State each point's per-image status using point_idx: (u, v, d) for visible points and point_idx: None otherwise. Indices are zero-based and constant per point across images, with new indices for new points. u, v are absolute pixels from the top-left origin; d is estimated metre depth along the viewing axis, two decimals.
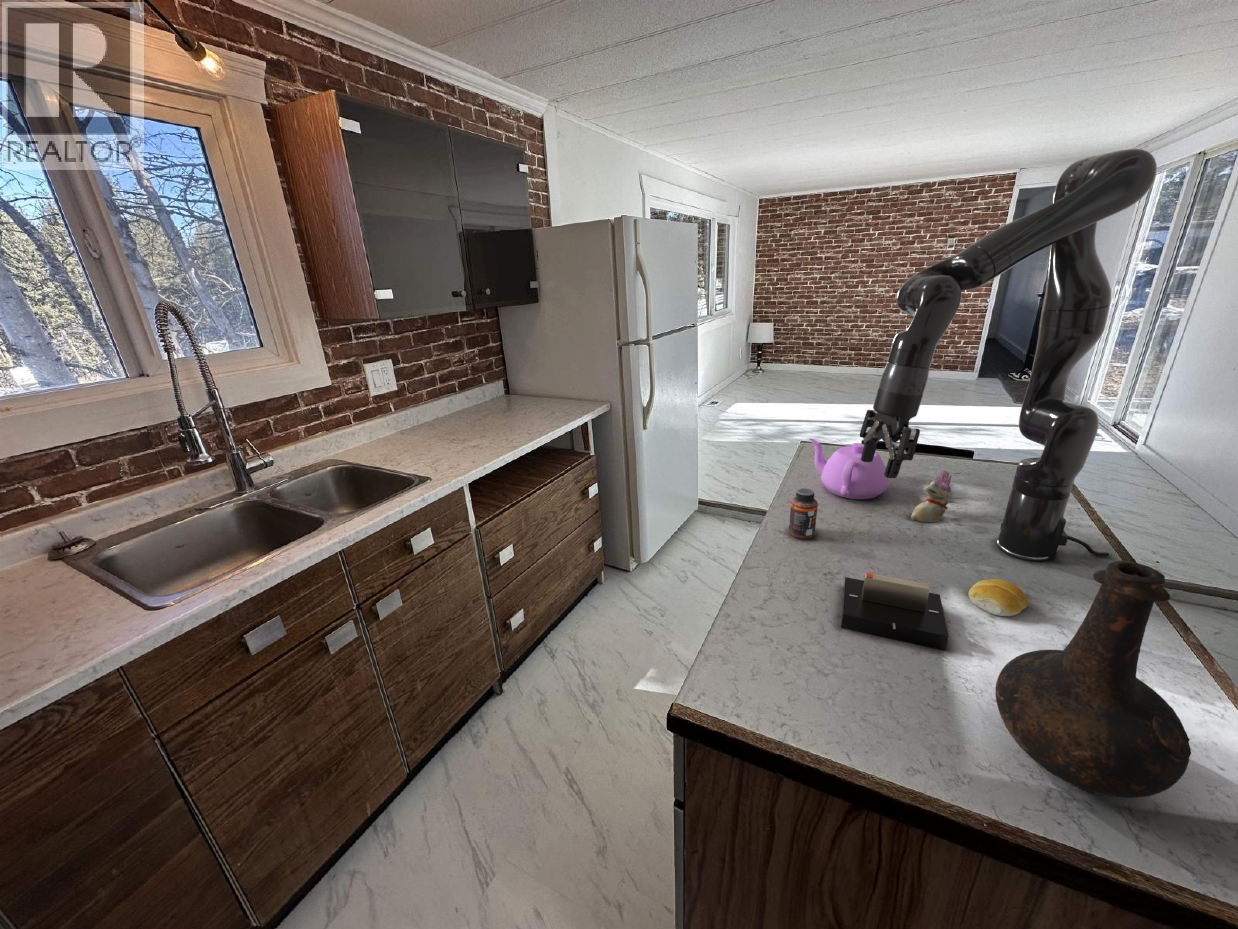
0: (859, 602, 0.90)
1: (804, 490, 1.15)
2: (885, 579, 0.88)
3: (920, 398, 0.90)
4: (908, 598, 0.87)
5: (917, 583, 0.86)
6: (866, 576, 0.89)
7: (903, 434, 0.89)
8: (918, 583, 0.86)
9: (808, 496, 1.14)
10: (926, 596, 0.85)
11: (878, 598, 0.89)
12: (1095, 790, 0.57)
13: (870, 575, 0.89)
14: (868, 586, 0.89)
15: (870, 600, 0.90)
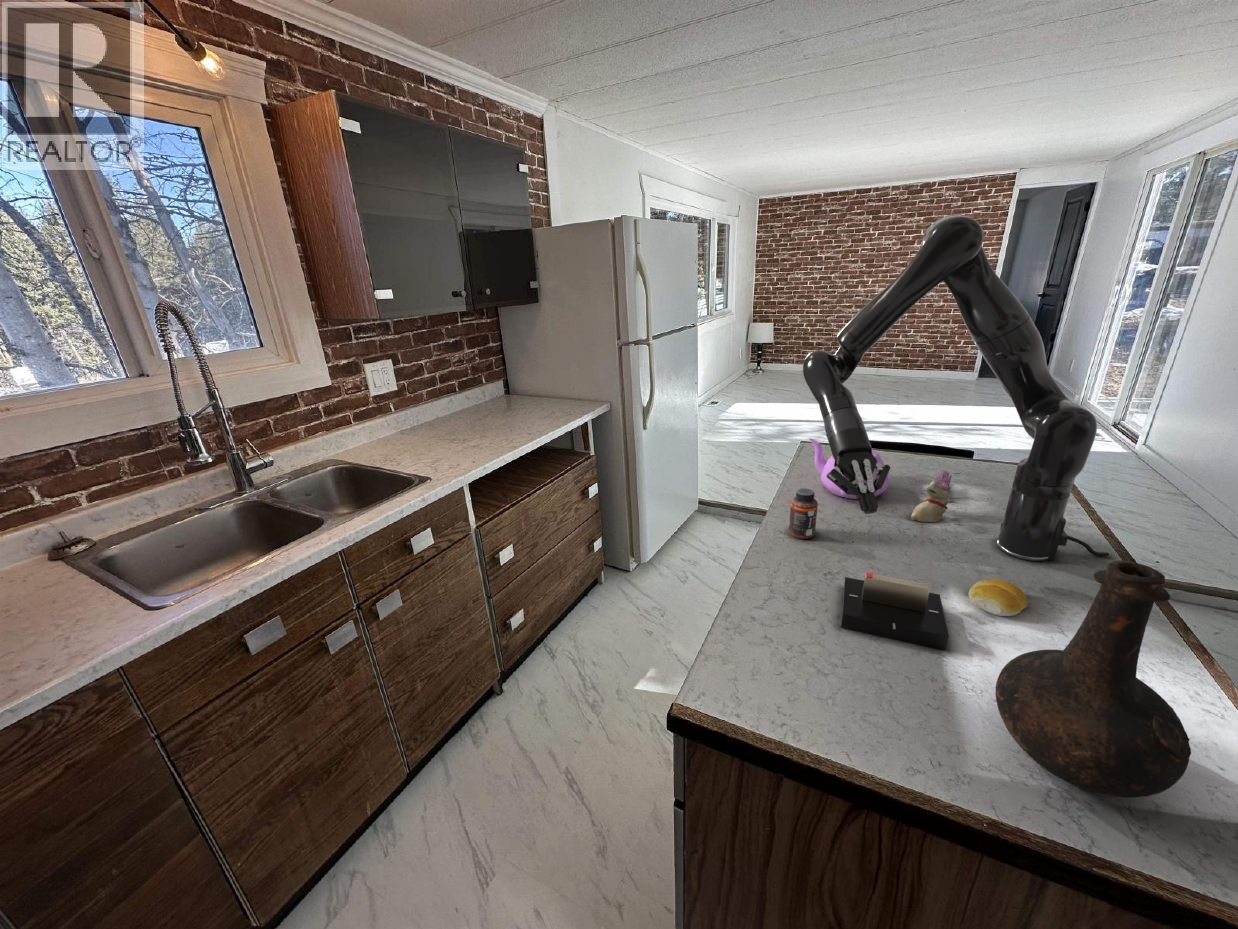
0: (859, 602, 0.90)
1: (804, 490, 1.15)
2: (885, 579, 0.88)
3: (837, 435, 1.01)
4: (908, 598, 0.87)
5: (917, 583, 0.86)
6: (866, 576, 0.89)
7: None
8: (918, 583, 0.86)
9: (808, 496, 1.14)
10: (926, 596, 0.85)
11: (878, 598, 0.89)
12: (1095, 790, 0.57)
13: (870, 575, 0.89)
14: (868, 586, 0.89)
15: (870, 600, 0.90)
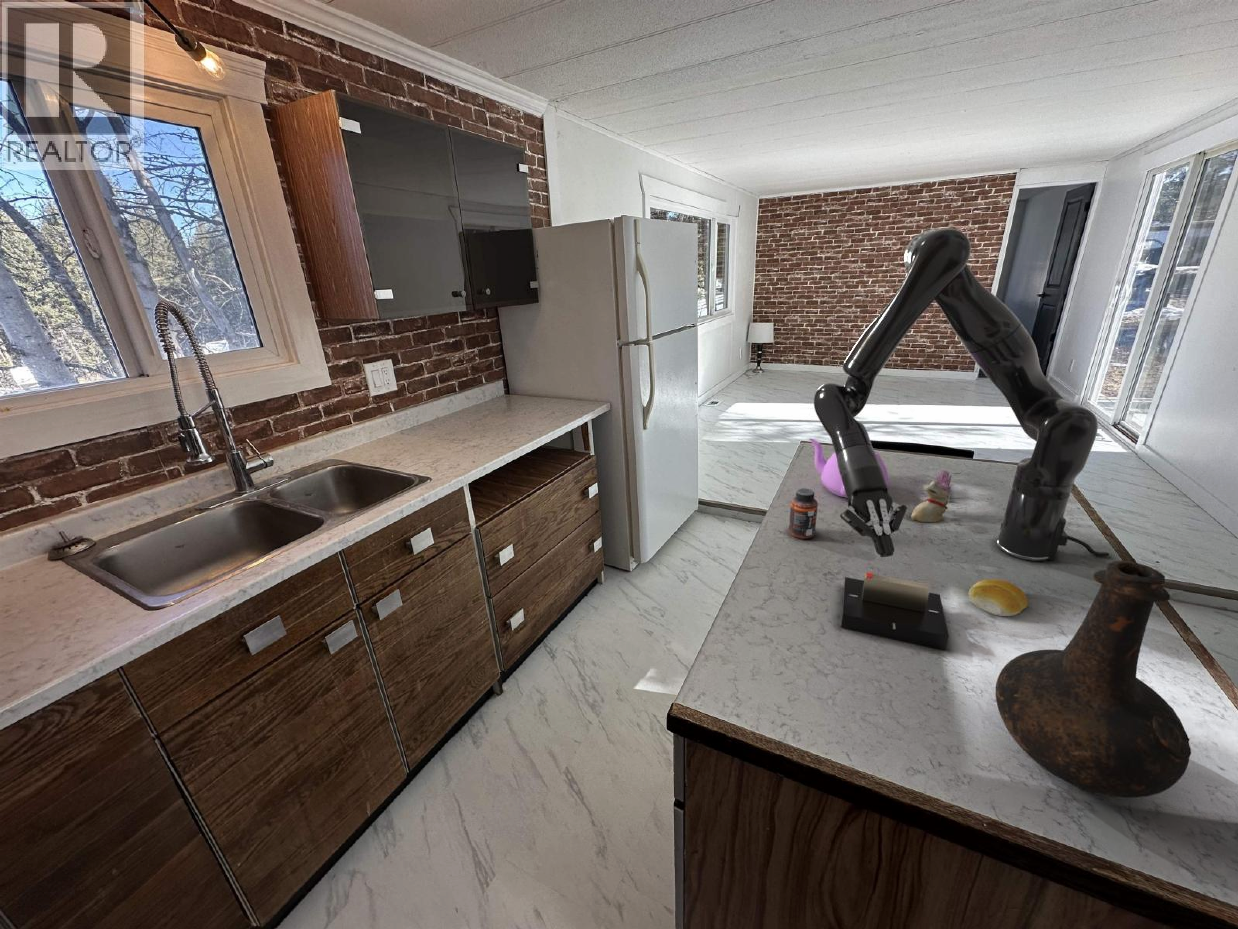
0: (859, 602, 0.90)
1: (804, 490, 1.15)
2: (885, 579, 0.88)
3: (851, 473, 0.97)
4: (908, 598, 0.87)
5: (917, 583, 0.86)
6: (866, 576, 0.89)
7: None
8: (918, 583, 0.86)
9: (808, 496, 1.14)
10: (926, 596, 0.85)
11: (878, 598, 0.89)
12: (1095, 790, 0.57)
13: (870, 575, 0.89)
14: (868, 586, 0.89)
15: (870, 600, 0.90)
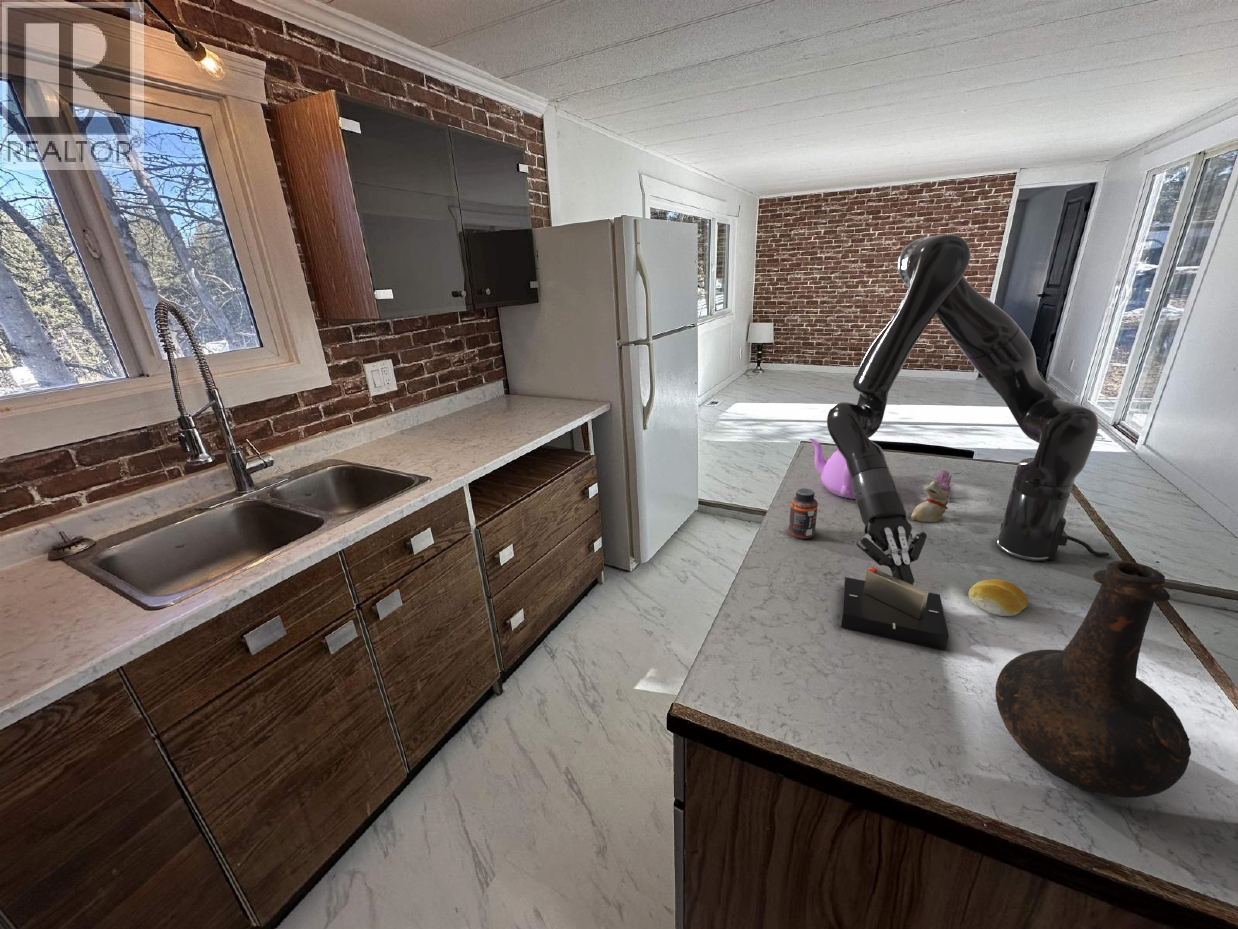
0: (859, 602, 0.90)
1: (804, 490, 1.15)
2: (886, 576, 0.89)
3: (868, 498, 0.92)
4: (904, 600, 0.86)
5: (916, 588, 0.85)
6: None
7: None
8: (917, 588, 0.85)
9: (808, 496, 1.14)
10: (921, 602, 0.84)
11: (877, 594, 0.90)
12: (1095, 790, 0.57)
13: (872, 569, 0.90)
14: (869, 580, 0.91)
15: (870, 594, 0.91)
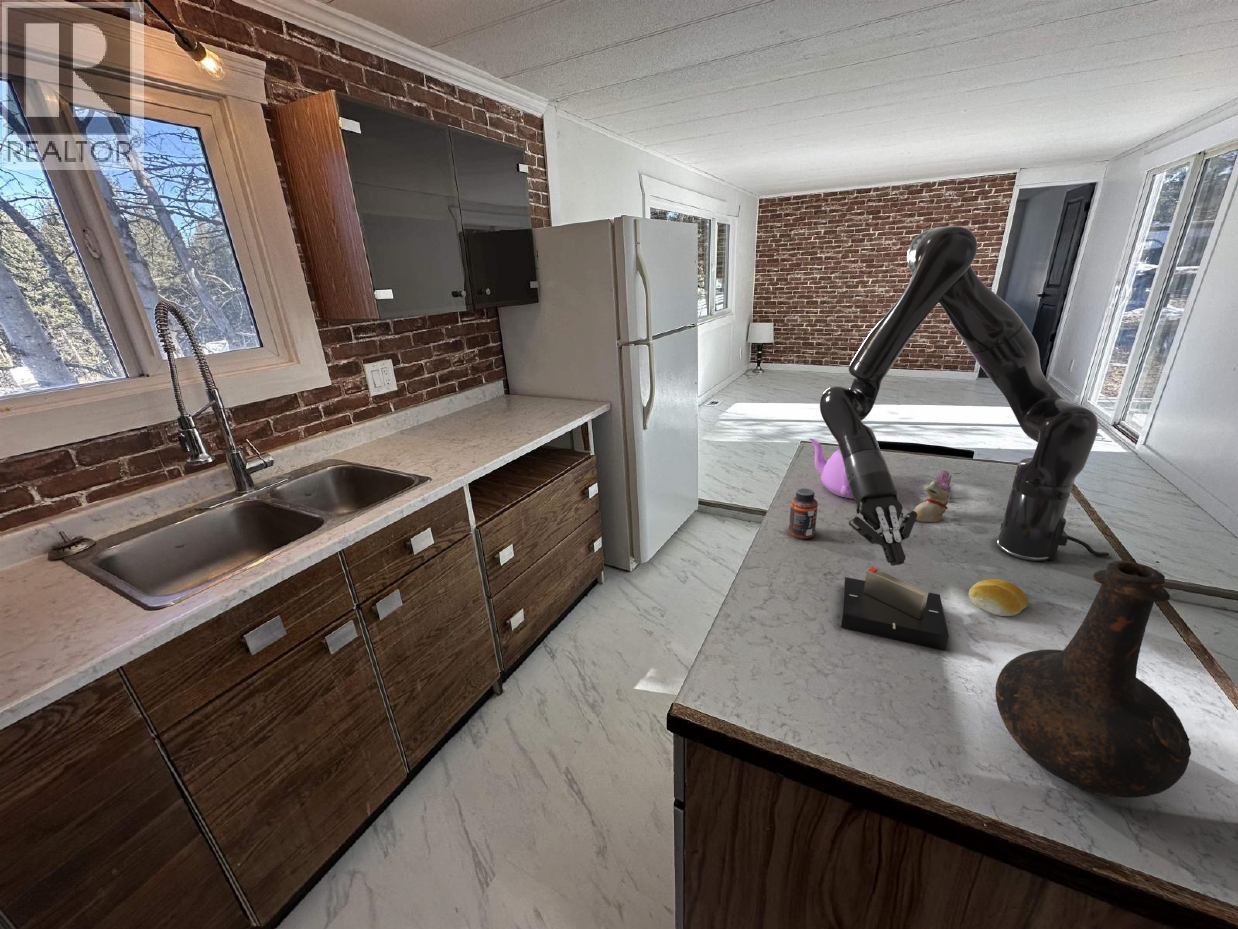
0: (859, 602, 0.90)
1: (804, 490, 1.15)
2: (886, 576, 0.89)
3: (860, 479, 0.95)
4: (904, 600, 0.86)
5: (916, 588, 0.85)
6: None
7: None
8: (917, 588, 0.85)
9: (808, 496, 1.14)
10: (921, 602, 0.84)
11: (877, 594, 0.90)
12: (1095, 790, 0.57)
13: (872, 569, 0.90)
14: (869, 579, 0.91)
15: (870, 594, 0.91)
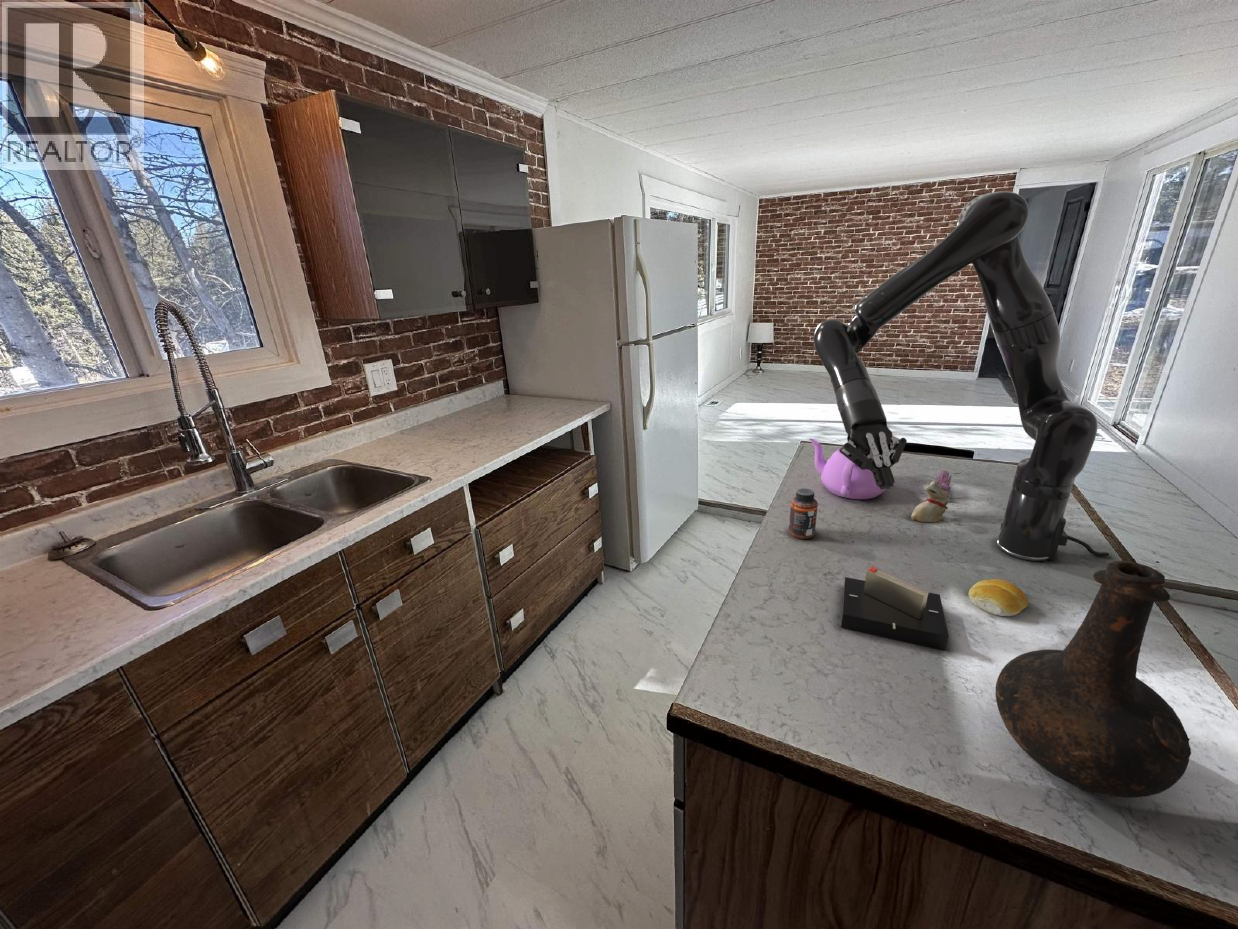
0: (859, 602, 0.90)
1: (804, 490, 1.15)
2: (886, 576, 0.89)
3: (850, 407, 0.96)
4: (904, 600, 0.86)
5: (916, 588, 0.85)
6: None
7: None
8: (917, 588, 0.85)
9: (808, 496, 1.14)
10: (921, 602, 0.84)
11: (877, 594, 0.90)
12: (1095, 790, 0.57)
13: (872, 569, 0.90)
14: (869, 579, 0.91)
15: (870, 594, 0.91)
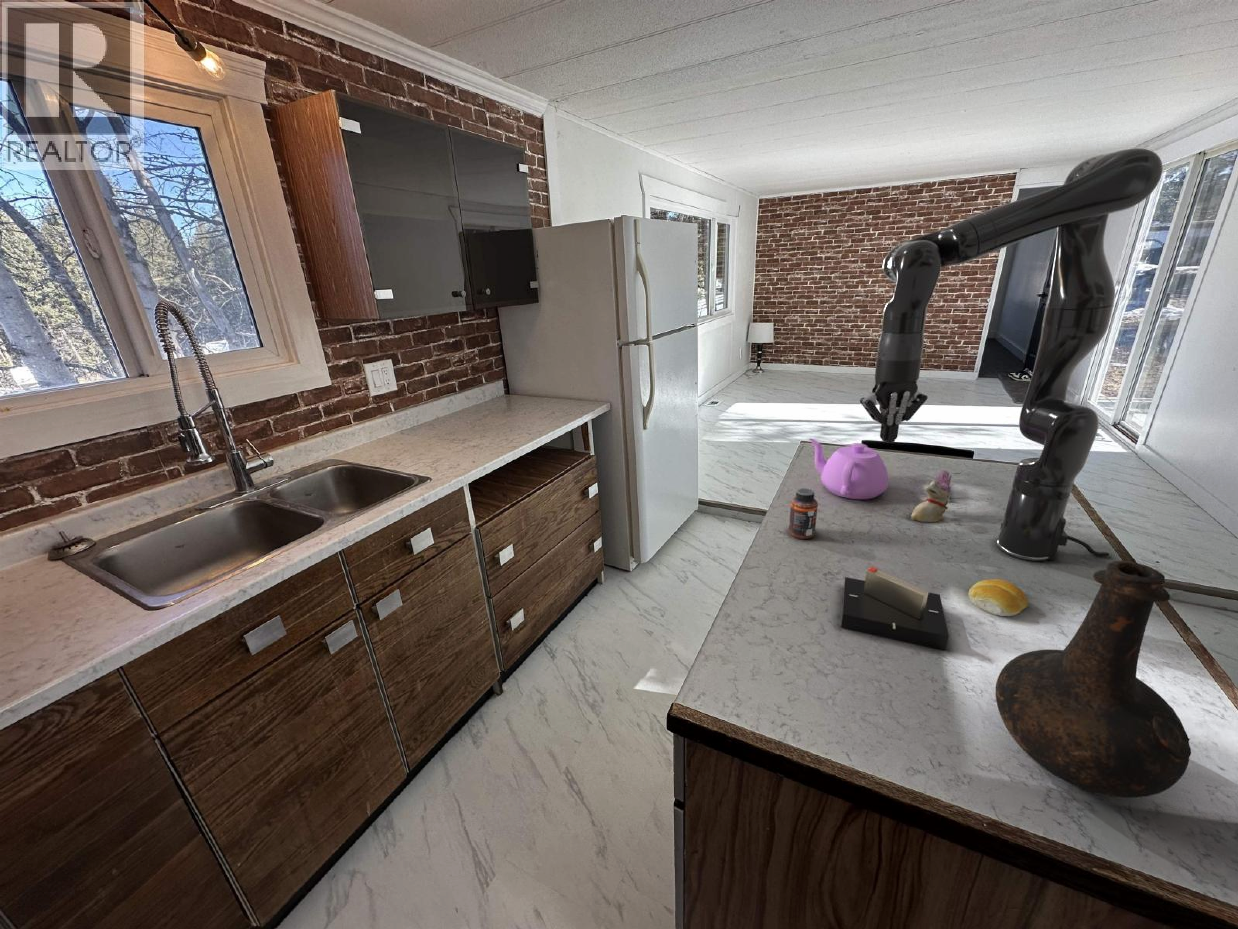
0: (859, 602, 0.90)
1: (804, 490, 1.15)
2: (886, 576, 0.89)
3: (889, 363, 0.92)
4: (904, 600, 0.86)
5: (916, 588, 0.85)
6: None
7: None
8: (917, 588, 0.85)
9: (808, 496, 1.14)
10: (921, 602, 0.84)
11: (877, 594, 0.90)
12: (1095, 790, 0.57)
13: (872, 569, 0.90)
14: (869, 579, 0.91)
15: (870, 594, 0.91)
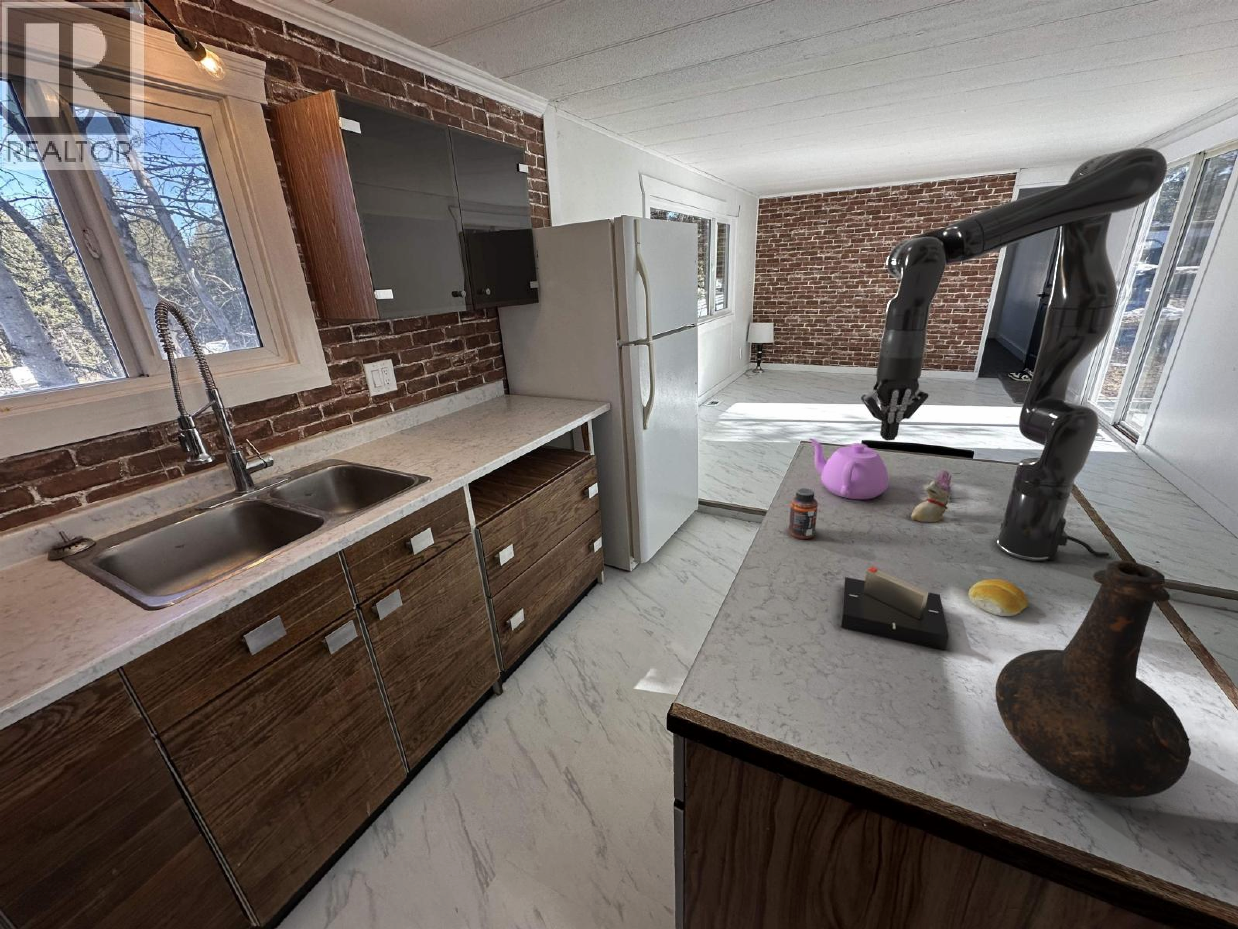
0: (859, 602, 0.90)
1: (804, 490, 1.15)
2: (886, 576, 0.89)
3: (891, 361, 0.92)
4: (904, 600, 0.86)
5: (916, 588, 0.85)
6: None
7: None
8: (917, 588, 0.85)
9: (808, 496, 1.14)
10: (921, 602, 0.84)
11: (877, 594, 0.90)
12: (1095, 790, 0.57)
13: (872, 569, 0.90)
14: (869, 579, 0.91)
15: (870, 594, 0.91)
